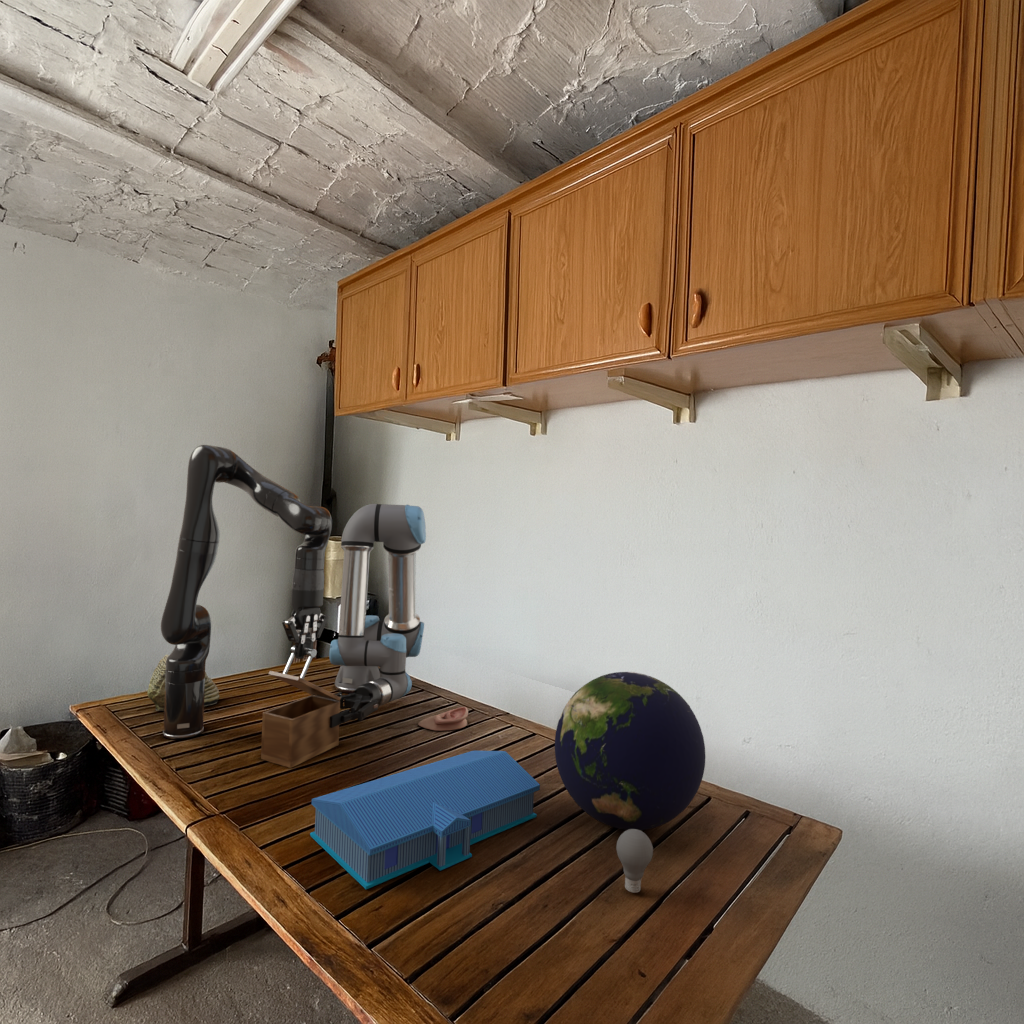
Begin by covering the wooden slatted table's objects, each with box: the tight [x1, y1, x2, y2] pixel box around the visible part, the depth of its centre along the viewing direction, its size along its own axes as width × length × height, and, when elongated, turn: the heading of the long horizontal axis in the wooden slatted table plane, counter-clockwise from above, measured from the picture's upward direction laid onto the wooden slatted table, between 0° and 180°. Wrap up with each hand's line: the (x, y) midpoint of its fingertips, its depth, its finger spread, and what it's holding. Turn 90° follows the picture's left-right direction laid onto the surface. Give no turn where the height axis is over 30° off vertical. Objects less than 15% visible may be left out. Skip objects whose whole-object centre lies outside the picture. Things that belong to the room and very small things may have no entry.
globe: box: [554, 671, 706, 831], centre depth 128 cm, size 30×30×30 cm
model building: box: [309, 750, 541, 890], centre depth 123 cm, size 39×24×10 cm, turn 132°
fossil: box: [147, 654, 221, 712], centre depth 185 cm, size 9×18×15 cm, turn 132°
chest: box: [260, 694, 341, 769], centre depth 156 cm, size 16×10×11 cm, turn 154°
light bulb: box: [615, 829, 654, 894], centre depth 106 cm, size 6×6×10 cm
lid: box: [268, 644, 341, 701], centre depth 158 cm, size 17×10×8 cm, turn 154°
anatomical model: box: [417, 706, 469, 732], centre depth 179 cm, size 13×4×12 cm
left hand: (303, 657), depth 156 cm, fingers closed on lid, 2 cm apart
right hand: (315, 718), depth 160 cm, fingers closed on chest, 10 cm apart
